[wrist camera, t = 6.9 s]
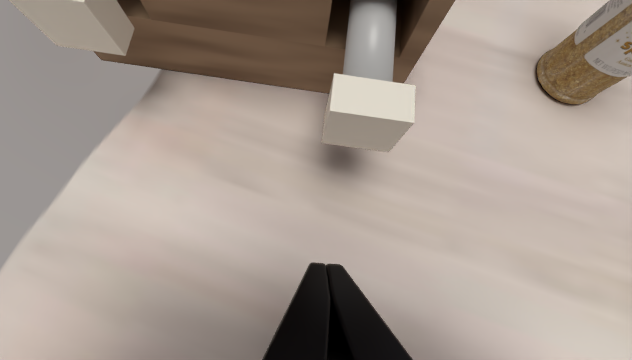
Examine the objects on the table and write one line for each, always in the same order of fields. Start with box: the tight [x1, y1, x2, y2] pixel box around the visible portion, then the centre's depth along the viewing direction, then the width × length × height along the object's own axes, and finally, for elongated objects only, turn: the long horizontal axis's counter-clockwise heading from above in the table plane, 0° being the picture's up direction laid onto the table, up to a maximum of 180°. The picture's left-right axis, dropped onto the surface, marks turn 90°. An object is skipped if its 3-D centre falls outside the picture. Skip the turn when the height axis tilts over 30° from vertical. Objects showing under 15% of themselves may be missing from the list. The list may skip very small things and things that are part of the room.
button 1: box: [321, 0, 416, 152], centre depth 15 cm, size 10×3×3 cm, turn 173°
